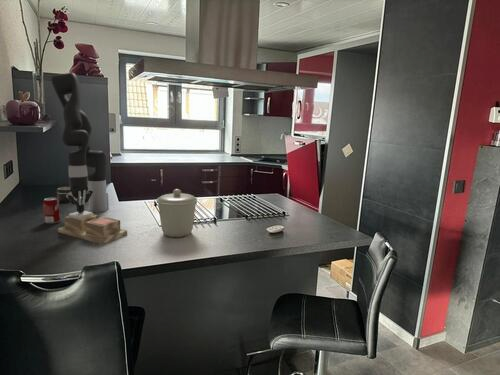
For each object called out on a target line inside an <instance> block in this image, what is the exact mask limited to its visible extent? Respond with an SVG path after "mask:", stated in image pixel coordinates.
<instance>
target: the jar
mask: <svg viewBox="0 0 500 375" xmlns="http://www.w3.org/2000/svg"><path fill="white" fill-rule="evenodd" d="M69 192H70V186H61V187H58V188H56V195H57V197H56V198H57V200H58V201H59V203H71V202H70V201H69V200H68V199H67V198H66V197H65V195H66V194H67V195H68V193H69ZM73 198H74V196H73Z"/></svg>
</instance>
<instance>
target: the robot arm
mask: <svg viewBox="0 0 500 375" xmlns="http://www.w3.org/2000/svg"><path fill="white" fill-rule="evenodd" d="M50 79H51V85H52V87H53V89H54V92H55V93H56V95H57V98H58V100H59V101H60V104H61V106H62V109H63V122H64V127H63V133H62V135H61V136H62V137H61V139H62V140H61V141H62V143H63V144H64V145H65V146H67V147H78V149H77V150H73V151H71V152H68V154H67V158H68V159H67V160H68V183H69V184H68V185H69V187H70V192H69V193H68V195H67V194H66V195H65V197H66V198H67V199H68V200H69V201H70V202H69V203H71V204H72V205H75V206H76V212H78V213H83V212H84V211H85V204H86V203H88V209H89V210H88V212H93V213H101V212H106V211H108V210H109V209H110V206H109V205H110V204H109V193H108V191H107V180H106V179H107V156H106V153H105V152H104V151H102V150H92V149H91V147H90V142H89V140H90V137H91V134H92V125H91V123H90V120H89V117H88V115H87V114H86V113H85V112H84V111H83V110H81V85H80V81H79V78H78V76H77V75H76V73H74V72H67V73H60V74H59V73H58V74H54V75H52V76H51V77H50ZM67 95H70V98H68V96H67ZM88 168H93V169H94V168H95V169H94V172H93V173H90V174H88ZM73 196H74V198H73Z"/></svg>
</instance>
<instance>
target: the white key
mask: <svg viewBox="0 0 500 375" xmlns="http://www.w3.org/2000/svg"><path fill="white" fill-rule="evenodd" d="M68 214H69V215H68V216H69V217H70V218H74V219H78V220H81V219H84V218H88V217H92V216H93V214H94V212H91V211H89V210H84V212H83V213H78V212H77V211H75V212H71V213H68Z"/></svg>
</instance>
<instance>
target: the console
mask: <svg viewBox="0 0 500 375" xmlns="http://www.w3.org/2000/svg"><path fill="white" fill-rule="evenodd" d="M102 218H106V219H110V220H115V221H113V222H110V223H107V224H104V225H99V224H95V223H91V222H92V221H96V220H99V219H102ZM63 219H64V220H63V221H64V226H62V227H59V228H58V227H57V230H58V232H57V233H58V234H63V235H66V236H70V237H75V238H77V239H81V240H84V241H89V242H92V243H96V244H99V245H103V244H106V243H109V242H112V241H115V240H117V239H119V238H122V237H125V236H127V235H128V230H126V229H121V220H120V219H116V218H111V217H106V216H102V217H99V215H97V214H95V213H93V216H92V217H88V218H84V219H81V220H78V219H74V218H70V217H69V215H67V216H64V218H63Z"/></svg>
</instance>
